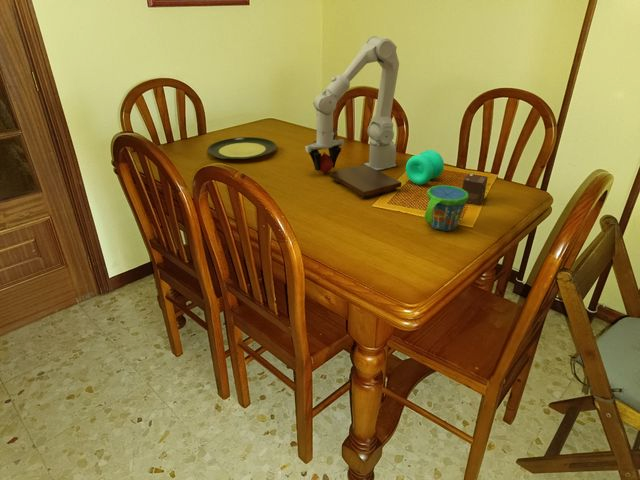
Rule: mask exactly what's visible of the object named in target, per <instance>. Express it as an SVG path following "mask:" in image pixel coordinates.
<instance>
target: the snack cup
mask: <svg viewBox="0 0 640 480" xmlns="http://www.w3.org/2000/svg"><path fill="white" fill-rule="evenodd" d="M426 195H427V198H428V204H427V207H426V210H425V214H424V217H423V218H424V221H425V222H426V223H428V224H430V226H431V227H432V228H433V229H434V230H438V231H443V232H451V231H452V230H455V229H457V228H458V225H459V222H460V219H461V217H462V214H463V211H464V208H465V206H466V203H467V202H466V201H467V200H468V197H469V196H468V193H467V192H466V191H465V190H463V189H462V187H458V186H454V185H449V184H448V185H446V184H445V185H443V184H441V185H434V186H431V187H430V188H428V190H426Z"/></svg>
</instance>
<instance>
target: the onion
mask: <svg viewBox="0 0 640 480" xmlns="http://www.w3.org/2000/svg"><path fill="white" fill-rule="evenodd" d="M332 169H334V168H333V161H332V159H331V158H330V156H329V154H327V153H326V152H325V151H323V152H322V154H321V157H320V171H319V172H321V173H322V174H324V175H326V174H327V173H330V172H331V171H332Z"/></svg>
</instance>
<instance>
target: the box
mask: <svg viewBox="0 0 640 480" xmlns="http://www.w3.org/2000/svg"><path fill="white" fill-rule="evenodd" d="M488 178H489V177H488V176H485V175H478V174H473V173H468V174H467V175H466V176H465V177H464V178H463V180H462V187H461V189H463V190H465V191H466V192H467V193H468V196H469V197H468V200H467V201H466V202H465V203H467V204H473V205H478V206H479V205H481V203H482V202H483V201H484V200H485V195H486V190H487V184H488Z"/></svg>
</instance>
